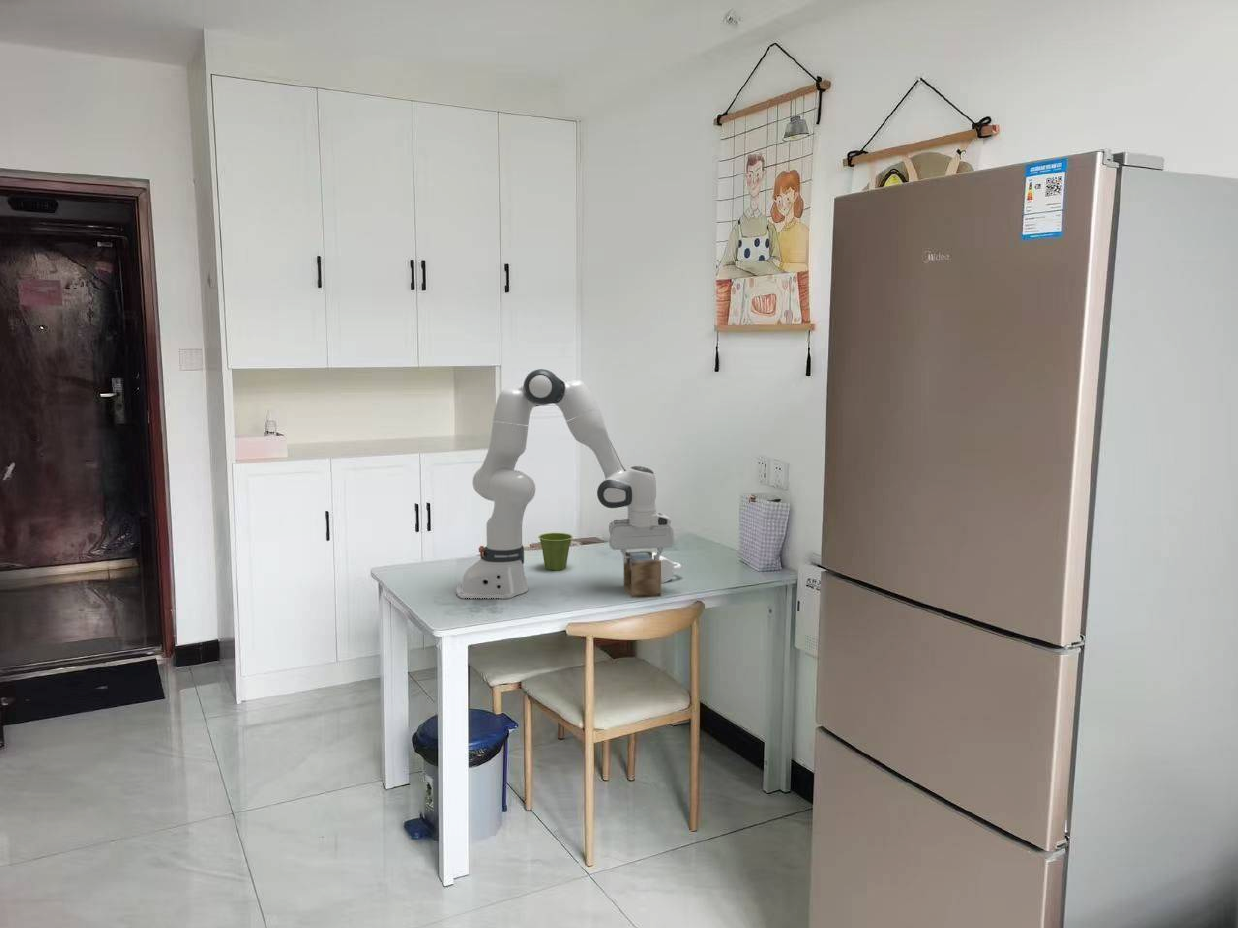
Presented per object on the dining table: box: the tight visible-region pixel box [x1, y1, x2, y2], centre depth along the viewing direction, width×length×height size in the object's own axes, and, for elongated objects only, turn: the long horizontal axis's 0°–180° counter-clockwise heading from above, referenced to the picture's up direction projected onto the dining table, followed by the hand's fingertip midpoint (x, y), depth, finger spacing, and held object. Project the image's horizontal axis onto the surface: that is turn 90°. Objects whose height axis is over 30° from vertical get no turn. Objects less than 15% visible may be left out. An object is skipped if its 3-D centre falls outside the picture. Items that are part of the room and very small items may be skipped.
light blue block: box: [630, 553, 653, 570], centre depth 283 cm, size 6×10×5 cm, turn 11°
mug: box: [652, 551, 682, 584], centre depth 298 cm, size 12×10×8 cm
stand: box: [623, 550, 662, 599], centre depth 283 cm, size 9×14×11 cm, turn 11°
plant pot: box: [537, 532, 574, 571], centre depth 311 cm, size 12×12×11 cm
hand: (641, 562), depth 283 cm, fingers open, 8 cm apart
